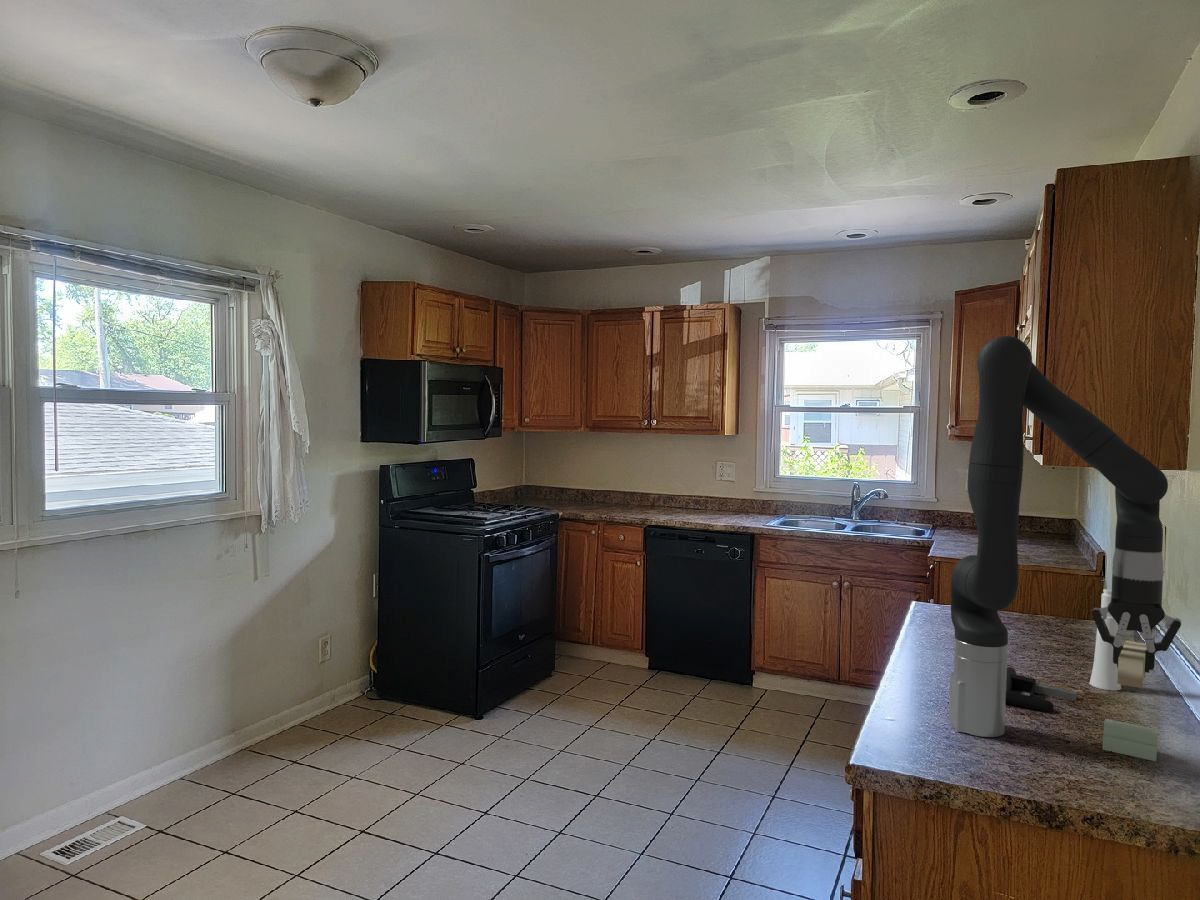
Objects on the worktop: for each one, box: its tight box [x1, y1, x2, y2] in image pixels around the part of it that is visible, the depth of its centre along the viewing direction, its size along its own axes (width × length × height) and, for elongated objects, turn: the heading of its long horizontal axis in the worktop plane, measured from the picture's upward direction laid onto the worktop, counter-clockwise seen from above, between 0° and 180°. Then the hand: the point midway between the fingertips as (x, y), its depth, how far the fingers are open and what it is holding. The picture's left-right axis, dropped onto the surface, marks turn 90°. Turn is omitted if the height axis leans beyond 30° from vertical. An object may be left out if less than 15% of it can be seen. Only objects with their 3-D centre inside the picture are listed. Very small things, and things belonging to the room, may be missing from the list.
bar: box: [1117, 640, 1147, 689], centre depth 141 cm, size 18×4×4 cm, turn 143°
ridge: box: [1102, 718, 1159, 762], centre depth 142 cm, size 5×8×4 cm, turn 53°
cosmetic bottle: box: [1089, 588, 1122, 692], centre depth 177 cm, size 6×6×22 cm
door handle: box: [1006, 666, 1078, 714], centre depth 170 cm, size 3×20×16 cm
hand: (1133, 668), depth 142 cm, fingers closed on bar, 3 cm apart
